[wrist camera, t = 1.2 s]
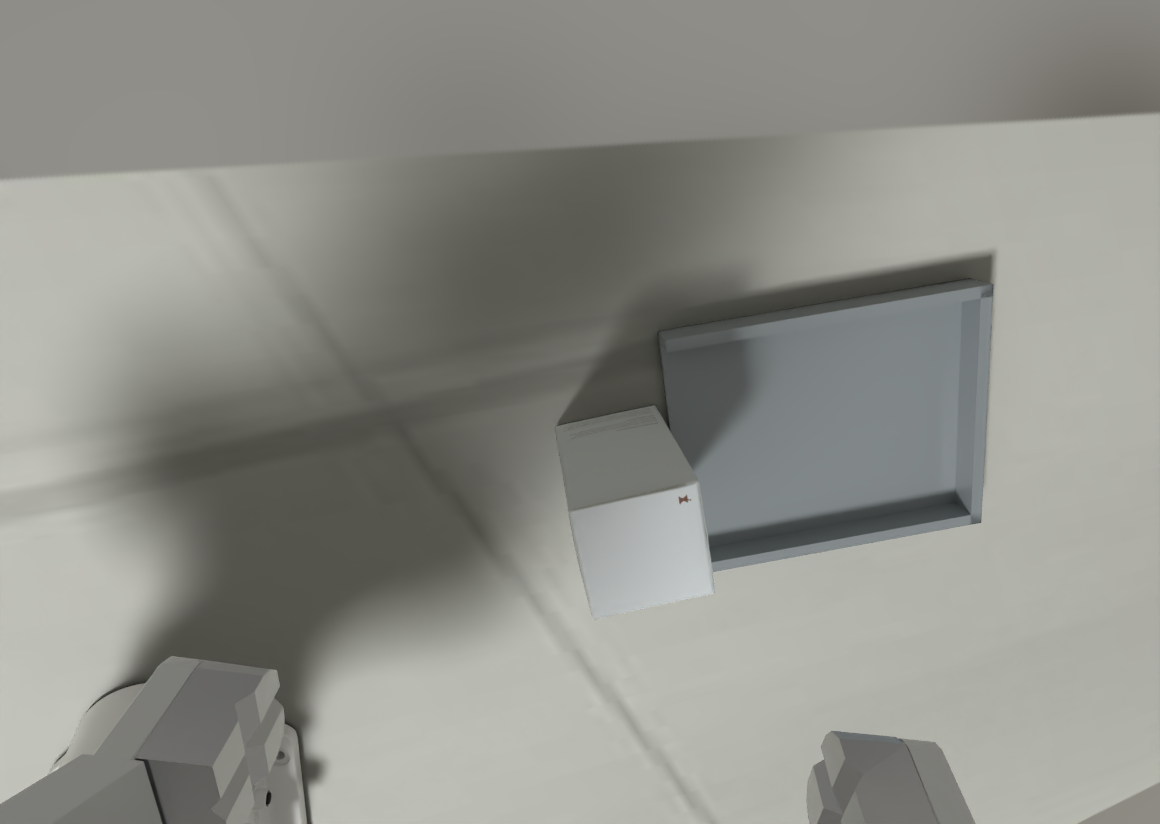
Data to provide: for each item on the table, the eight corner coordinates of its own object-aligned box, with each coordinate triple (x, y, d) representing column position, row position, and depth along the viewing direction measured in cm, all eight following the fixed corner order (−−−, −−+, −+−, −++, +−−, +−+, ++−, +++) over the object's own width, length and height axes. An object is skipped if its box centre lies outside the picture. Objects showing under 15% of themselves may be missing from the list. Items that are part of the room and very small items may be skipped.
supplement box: (552, 424, 49) (566, 507, 37) (657, 402, 49) (704, 478, 37) (571, 517, 51) (590, 623, 39) (671, 496, 52) (720, 596, 40)
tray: (960, 506, 54) (981, 522, 52) (684, 557, 53) (691, 575, 51) (969, 278, 48) (993, 284, 46) (657, 331, 47) (665, 340, 45)
